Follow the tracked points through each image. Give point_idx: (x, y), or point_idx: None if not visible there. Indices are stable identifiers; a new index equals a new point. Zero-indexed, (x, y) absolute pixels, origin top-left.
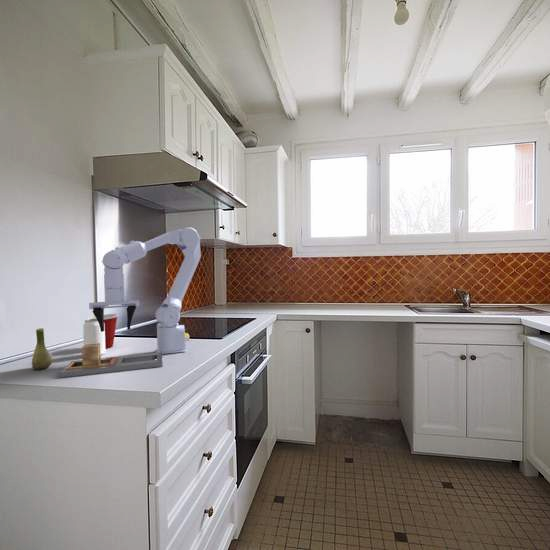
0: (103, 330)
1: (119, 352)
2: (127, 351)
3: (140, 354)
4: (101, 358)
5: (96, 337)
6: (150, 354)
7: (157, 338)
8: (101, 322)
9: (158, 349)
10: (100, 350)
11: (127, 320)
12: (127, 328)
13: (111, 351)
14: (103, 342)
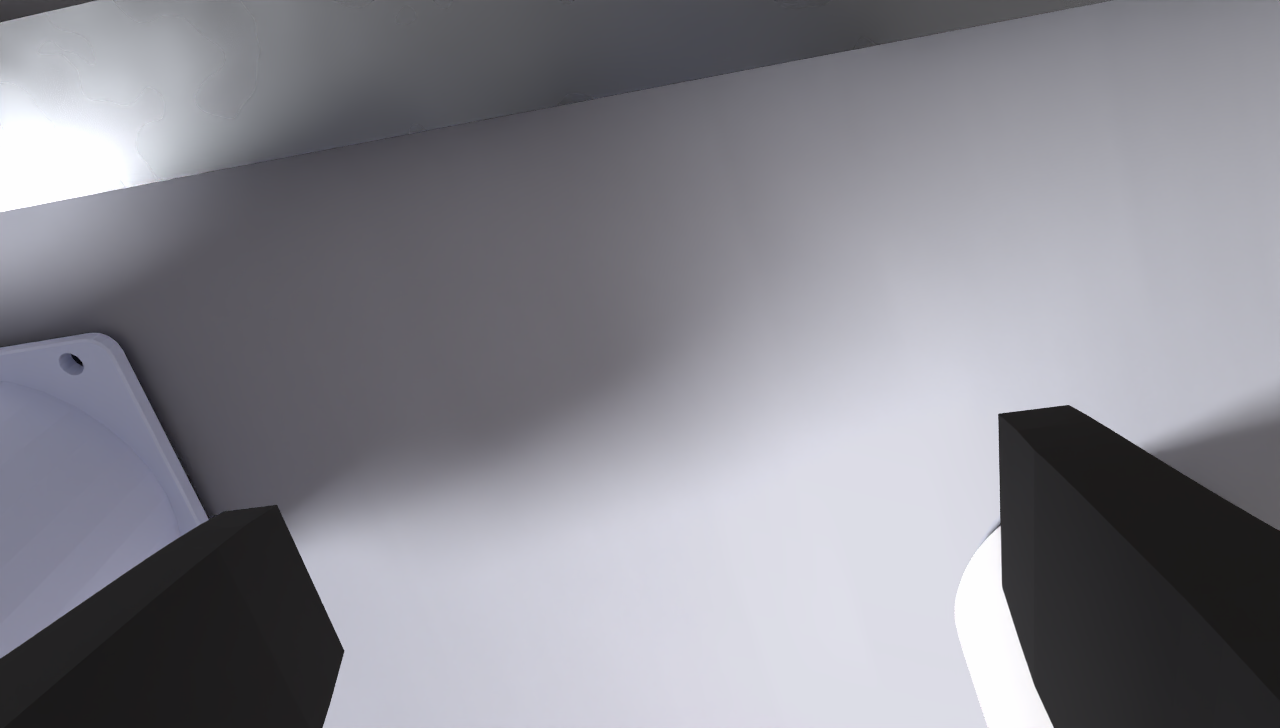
0: (1007, 472)
1: (758, 613)
2: (657, 635)
3: (221, 153)
4: (874, 9)
5: None
6: (31, 108)
7: (12, 602)
8: (1207, 592)
9: (106, 459)
10: None
11: (19, 703)
12: (247, 521)
13: (890, 688)
14: (1015, 700)
